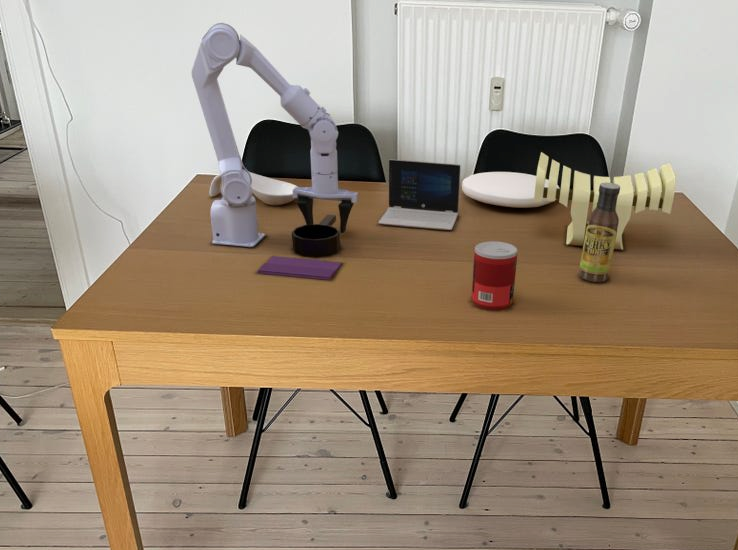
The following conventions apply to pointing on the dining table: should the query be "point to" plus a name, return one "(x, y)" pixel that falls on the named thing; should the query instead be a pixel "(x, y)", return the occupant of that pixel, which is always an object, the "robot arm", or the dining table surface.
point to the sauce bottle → (600, 235)
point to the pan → (317, 239)
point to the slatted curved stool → (584, 195)
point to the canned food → (494, 275)
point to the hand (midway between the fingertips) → (326, 230)
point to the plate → (503, 189)
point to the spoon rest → (263, 189)
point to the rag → (300, 268)
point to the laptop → (422, 195)
